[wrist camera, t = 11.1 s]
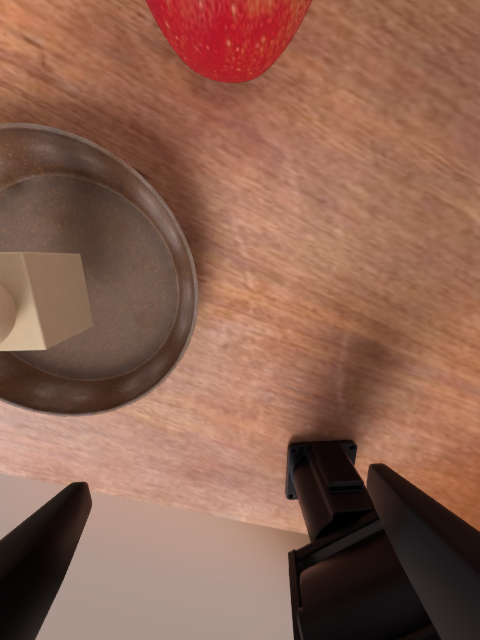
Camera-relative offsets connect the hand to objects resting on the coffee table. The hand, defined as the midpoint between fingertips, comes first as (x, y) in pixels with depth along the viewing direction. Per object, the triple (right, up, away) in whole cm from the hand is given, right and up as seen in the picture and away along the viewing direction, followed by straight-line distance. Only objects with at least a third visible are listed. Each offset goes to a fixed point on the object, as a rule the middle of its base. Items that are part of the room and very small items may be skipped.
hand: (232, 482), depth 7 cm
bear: (-11, +7, +7) cm, 14 cm away
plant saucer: (-11, +8, +10) cm, 17 cm away
